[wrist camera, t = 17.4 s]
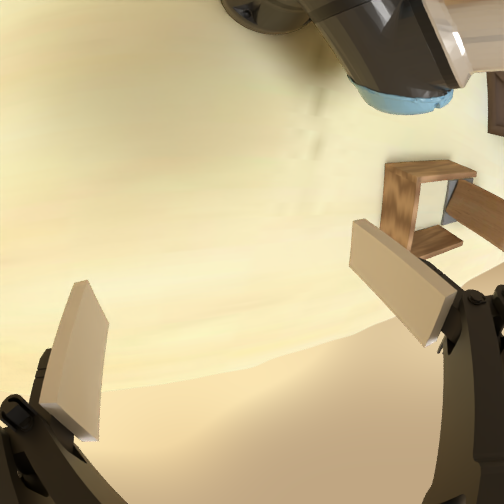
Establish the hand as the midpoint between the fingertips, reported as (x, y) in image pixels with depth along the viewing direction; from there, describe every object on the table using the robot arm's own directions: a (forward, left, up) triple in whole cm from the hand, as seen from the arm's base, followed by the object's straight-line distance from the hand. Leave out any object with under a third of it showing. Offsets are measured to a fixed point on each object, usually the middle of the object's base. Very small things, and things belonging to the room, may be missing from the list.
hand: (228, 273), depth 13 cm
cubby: (+15, +46, -32) cm, 58 cm away
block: (+17, +64, -31) cm, 73 cm away
